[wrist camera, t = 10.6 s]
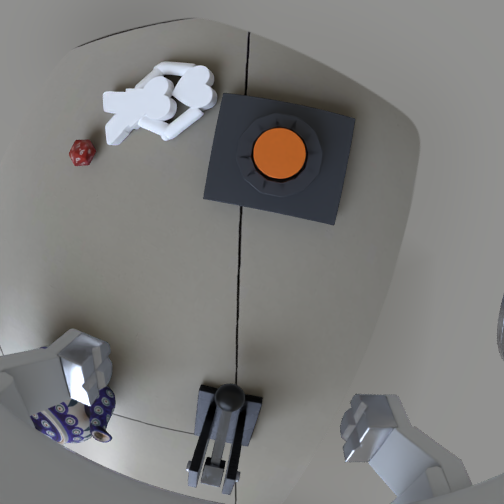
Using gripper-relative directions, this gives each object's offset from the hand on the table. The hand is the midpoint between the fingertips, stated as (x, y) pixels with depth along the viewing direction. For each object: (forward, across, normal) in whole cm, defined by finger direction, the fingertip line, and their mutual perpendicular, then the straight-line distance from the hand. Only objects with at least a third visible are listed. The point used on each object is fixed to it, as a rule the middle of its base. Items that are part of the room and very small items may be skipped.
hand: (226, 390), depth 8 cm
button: (+17, 0, -8) cm, 19 cm away
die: (+21, +21, -7) cm, 30 cm away
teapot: (+21, +25, +26) cm, 42 cm away
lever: (+15, 0, +21) cm, 26 cm away
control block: (+21, 0, -8) cm, 23 cm away
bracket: (+21, 0, +25) cm, 32 cm away
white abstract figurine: (+21, +13, -12) cm, 28 cm away
